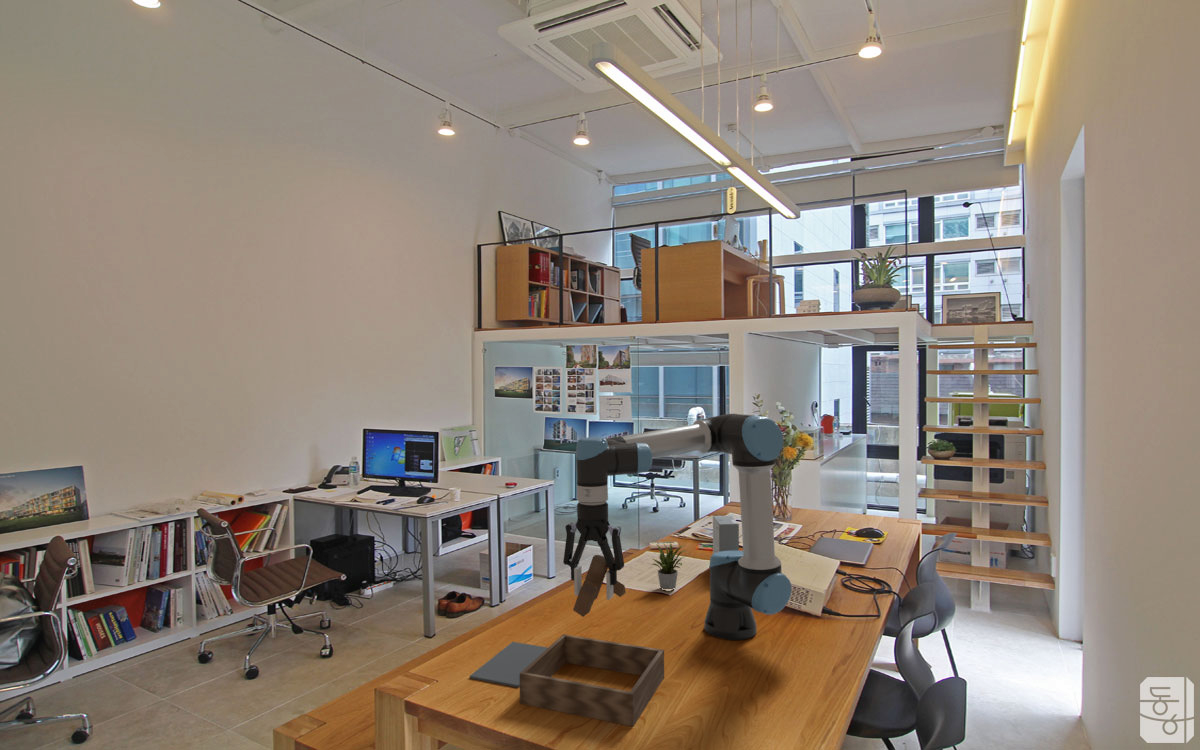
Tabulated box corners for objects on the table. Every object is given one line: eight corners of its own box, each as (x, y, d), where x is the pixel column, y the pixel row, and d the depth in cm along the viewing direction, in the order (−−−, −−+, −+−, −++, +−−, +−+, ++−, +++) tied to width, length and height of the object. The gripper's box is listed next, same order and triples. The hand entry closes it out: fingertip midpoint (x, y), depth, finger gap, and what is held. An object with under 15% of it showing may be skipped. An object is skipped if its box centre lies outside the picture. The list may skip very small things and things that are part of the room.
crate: (664, 677, 164) (663, 649, 164) (633, 726, 142) (632, 694, 142) (563, 660, 174) (563, 634, 174) (519, 703, 152) (519, 673, 152)
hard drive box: (739, 578, 241) (739, 524, 241) (719, 578, 241) (718, 524, 241) (731, 565, 257) (731, 514, 256) (712, 565, 257) (711, 515, 256)
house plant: (698, 586, 232) (698, 541, 232) (681, 598, 220) (681, 550, 220) (662, 580, 240) (662, 535, 239) (644, 591, 228) (644, 544, 228)
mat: (557, 651, 180) (557, 649, 180) (518, 687, 160) (518, 685, 160) (512, 643, 185) (512, 641, 185) (469, 678, 165) (469, 675, 165)
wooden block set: (587, 627, 148) (601, 589, 145) (557, 607, 151) (570, 569, 149) (623, 598, 163) (636, 563, 161) (595, 580, 167) (607, 546, 164)
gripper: (547, 502, 158) (549, 595, 158) (627, 507, 150) (628, 606, 151) (560, 496, 165) (562, 586, 165) (637, 501, 157) (639, 595, 158)
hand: (593, 595), depth 158 cm, fingers closed on wooden block set, 8 cm apart
